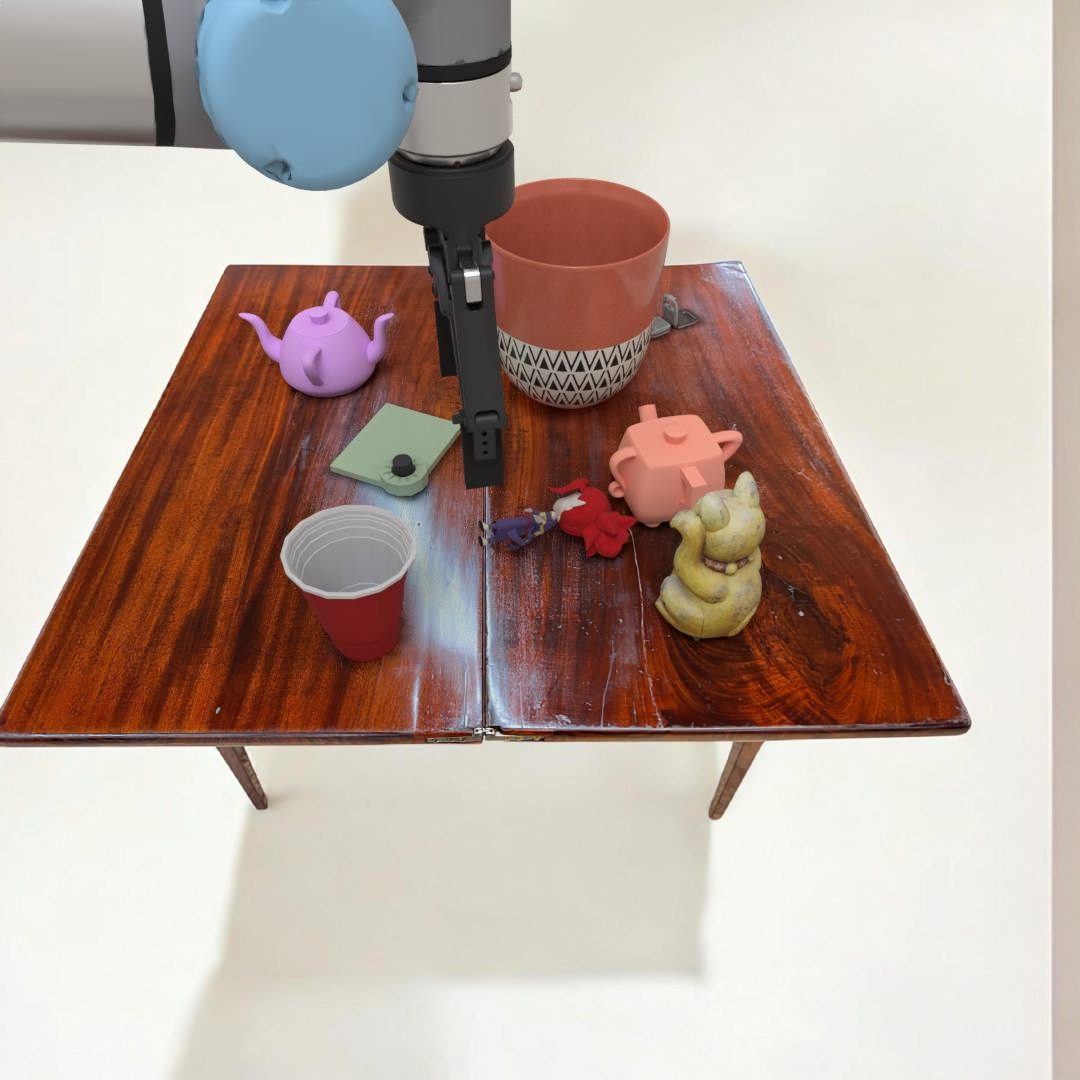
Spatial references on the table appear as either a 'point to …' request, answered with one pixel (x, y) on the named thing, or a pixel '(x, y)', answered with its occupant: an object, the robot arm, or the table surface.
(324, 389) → the teapot
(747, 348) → the table surface
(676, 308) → the strap clip
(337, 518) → the plastic cup
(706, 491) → the teapot
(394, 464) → the tare button
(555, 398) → the planter
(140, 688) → the table surface
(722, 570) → the decorative figurine
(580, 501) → the figurine
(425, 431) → the scale
